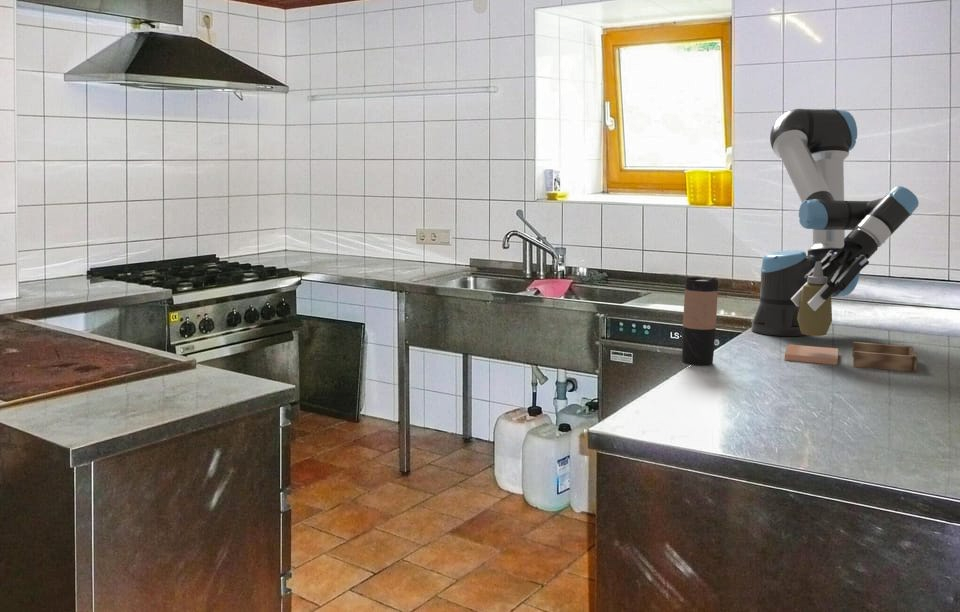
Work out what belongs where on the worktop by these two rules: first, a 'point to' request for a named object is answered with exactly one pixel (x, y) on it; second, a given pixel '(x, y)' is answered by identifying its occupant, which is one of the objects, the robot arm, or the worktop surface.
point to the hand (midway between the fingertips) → (802, 304)
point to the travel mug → (699, 321)
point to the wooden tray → (884, 356)
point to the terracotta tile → (811, 354)
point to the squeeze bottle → (807, 318)
